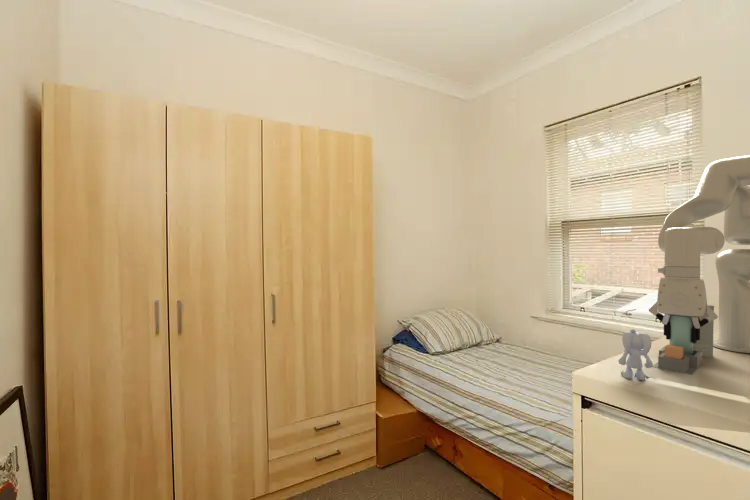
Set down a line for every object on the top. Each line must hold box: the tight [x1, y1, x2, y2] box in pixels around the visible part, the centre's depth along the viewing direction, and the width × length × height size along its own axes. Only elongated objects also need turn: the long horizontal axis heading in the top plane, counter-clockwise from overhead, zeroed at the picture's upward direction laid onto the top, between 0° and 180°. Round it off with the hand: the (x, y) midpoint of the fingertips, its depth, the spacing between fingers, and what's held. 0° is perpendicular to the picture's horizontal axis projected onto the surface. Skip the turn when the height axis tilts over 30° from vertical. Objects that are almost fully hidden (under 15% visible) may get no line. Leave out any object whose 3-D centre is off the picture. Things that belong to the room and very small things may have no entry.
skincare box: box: [693, 303, 715, 358], centre depth 111 cm, size 8×7×16 cm
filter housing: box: [651, 345, 703, 376], centre depth 100 cm, size 15×8×4 cm, turn 132°
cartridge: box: [669, 315, 693, 355], centre depth 102 cm, size 5×5×11 cm
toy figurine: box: [617, 328, 654, 382], centre depth 92 cm, size 7×6×12 cm
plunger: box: [664, 344, 683, 360], centre depth 96 cm, size 3×3×5 cm
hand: (681, 339), depth 102 cm, fingers closed on cartridge, 4 cm apart
